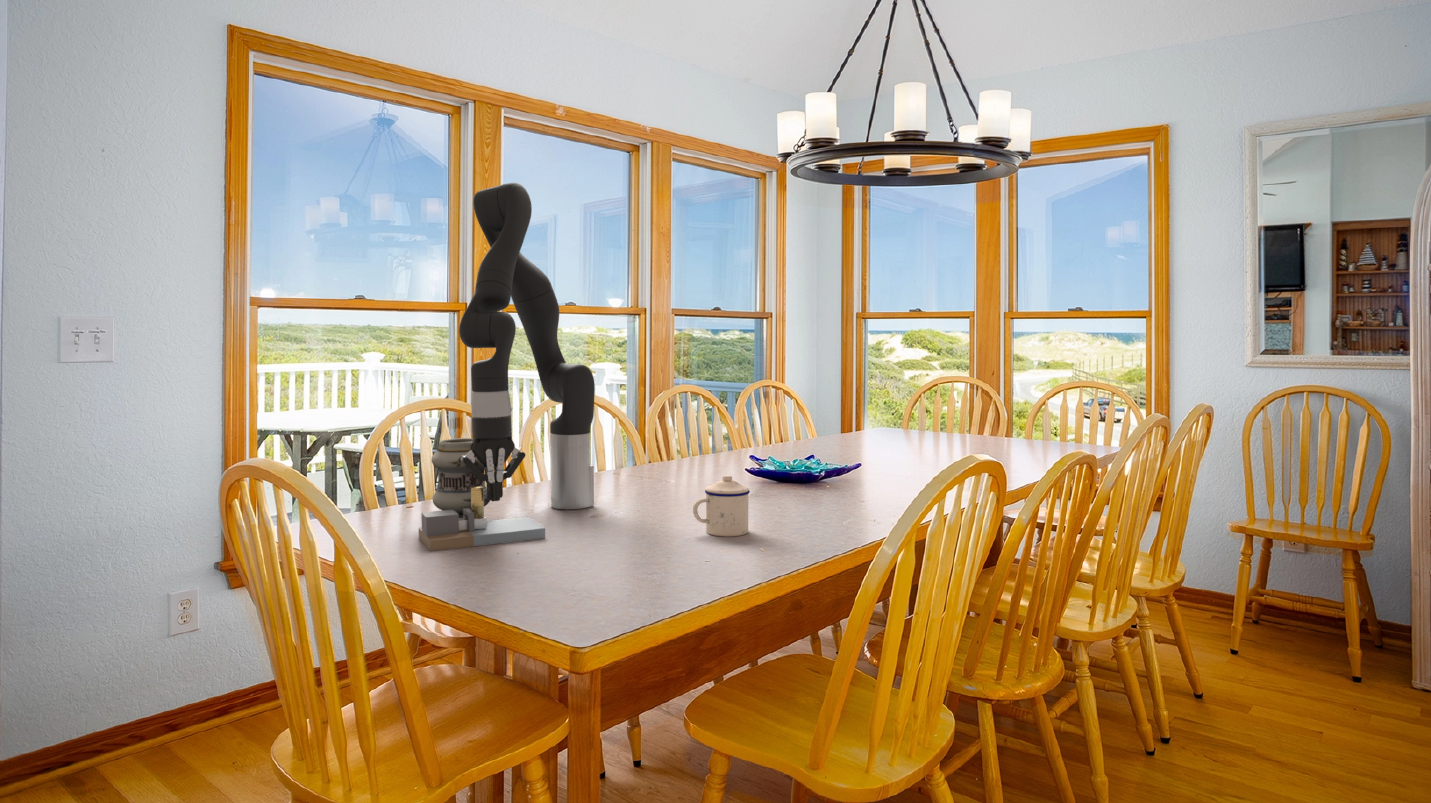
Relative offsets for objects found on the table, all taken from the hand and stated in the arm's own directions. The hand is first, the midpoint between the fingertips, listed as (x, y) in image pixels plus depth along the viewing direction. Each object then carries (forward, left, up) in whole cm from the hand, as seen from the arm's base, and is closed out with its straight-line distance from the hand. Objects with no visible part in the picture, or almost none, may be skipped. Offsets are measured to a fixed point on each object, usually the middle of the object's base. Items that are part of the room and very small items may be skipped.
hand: (495, 500), depth 177 cm
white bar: (+7, 0, -5) cm, 9 cm away
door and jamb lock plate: (+3, 0, -7) cm, 8 cm away
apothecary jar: (+3, -15, -8) cm, 17 cm away
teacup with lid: (-41, +18, -8) cm, 46 cm away
